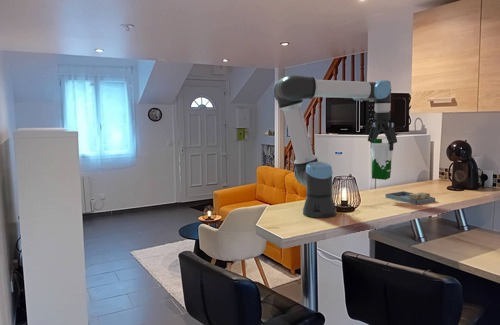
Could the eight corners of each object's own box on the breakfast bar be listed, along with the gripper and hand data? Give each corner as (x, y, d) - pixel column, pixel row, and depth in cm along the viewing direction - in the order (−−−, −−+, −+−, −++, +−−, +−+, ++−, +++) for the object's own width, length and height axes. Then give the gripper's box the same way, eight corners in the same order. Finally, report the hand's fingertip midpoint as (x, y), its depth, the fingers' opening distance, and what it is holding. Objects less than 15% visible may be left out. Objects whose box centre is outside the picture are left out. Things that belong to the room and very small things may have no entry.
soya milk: (375, 176, 200) (376, 138, 197) (392, 177, 194) (393, 138, 192) (369, 178, 193) (370, 139, 190) (387, 180, 187) (388, 139, 185)
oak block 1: (416, 203, 186) (417, 195, 185) (409, 202, 189) (409, 194, 188) (420, 202, 188) (420, 194, 188) (412, 201, 191) (413, 193, 191)
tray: (416, 205, 184) (416, 200, 183) (385, 198, 202) (385, 193, 201) (435, 202, 189) (435, 197, 189) (403, 195, 207) (403, 191, 207)
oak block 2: (424, 202, 188) (424, 194, 187) (417, 200, 191) (417, 193, 191) (429, 201, 189) (429, 193, 189) (423, 199, 193) (423, 192, 193)
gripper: (406, 111, 181) (404, 157, 184) (371, 112, 202) (371, 154, 204) (394, 111, 178) (393, 158, 180) (360, 112, 198) (360, 154, 201)
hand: (381, 156), depth 192 cm, fingers closed on soya milk, 10 cm apart
